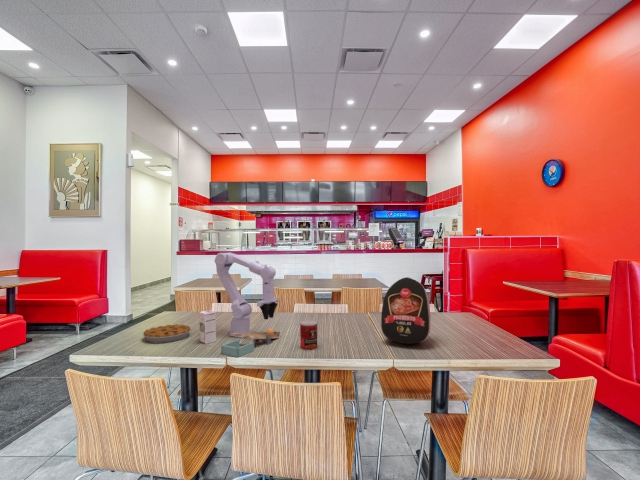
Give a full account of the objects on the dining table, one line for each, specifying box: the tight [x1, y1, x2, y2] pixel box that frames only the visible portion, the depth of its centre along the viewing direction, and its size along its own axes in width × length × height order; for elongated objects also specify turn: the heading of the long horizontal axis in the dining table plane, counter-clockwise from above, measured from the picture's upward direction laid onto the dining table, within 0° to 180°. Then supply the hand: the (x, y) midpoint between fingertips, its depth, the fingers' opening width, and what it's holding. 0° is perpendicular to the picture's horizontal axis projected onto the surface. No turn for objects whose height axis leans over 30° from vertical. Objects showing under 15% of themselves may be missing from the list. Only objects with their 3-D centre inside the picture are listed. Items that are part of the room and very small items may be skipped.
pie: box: [142, 323, 192, 344], centre depth 162 cm, size 22×22×5 cm
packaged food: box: [380, 276, 431, 345], centre depth 150 cm, size 22×20×30 cm
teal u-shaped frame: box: [220, 339, 255, 358], centre depth 138 cm, size 10×10×4 cm
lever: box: [232, 330, 281, 340], centre depth 154 cm, size 14×18×3 cm
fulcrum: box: [252, 336, 273, 346], centre depth 152 cm, size 9×4×3 cm, turn 59°
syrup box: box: [199, 309, 217, 345], centre depth 154 cm, size 6×6×14 cm
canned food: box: [299, 320, 318, 351], centre depth 145 cm, size 8×8×11 cm
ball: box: [266, 327, 275, 334], centre depth 157 cm, size 4×4×4 cm
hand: (268, 318), depth 161 cm, fingers open, 3 cm apart
